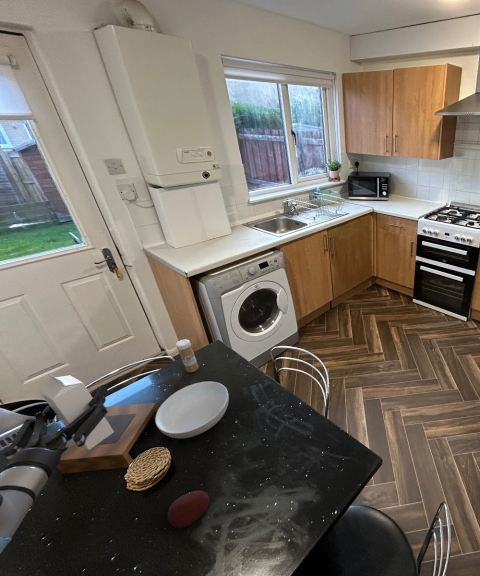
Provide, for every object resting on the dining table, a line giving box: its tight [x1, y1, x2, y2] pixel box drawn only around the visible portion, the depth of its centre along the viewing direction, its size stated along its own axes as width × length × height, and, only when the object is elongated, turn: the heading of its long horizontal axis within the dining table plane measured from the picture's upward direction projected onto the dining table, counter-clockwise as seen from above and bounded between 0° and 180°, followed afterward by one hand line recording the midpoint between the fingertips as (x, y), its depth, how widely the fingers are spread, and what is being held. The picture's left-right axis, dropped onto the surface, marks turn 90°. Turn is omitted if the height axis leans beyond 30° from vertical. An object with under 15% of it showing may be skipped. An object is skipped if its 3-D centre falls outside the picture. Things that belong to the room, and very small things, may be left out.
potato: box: [167, 490, 211, 529], centre depth 78 cm, size 8×9×6 cm
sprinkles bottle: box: [175, 338, 199, 373], centre depth 121 cm, size 5×5×14 cm
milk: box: [39, 373, 114, 450], centre depth 79 cm, size 6×6×22 cm
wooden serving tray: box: [56, 402, 160, 475], centre depth 95 cm, size 18×18×6 cm
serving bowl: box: [154, 381, 230, 439], centre depth 102 cm, size 21×21×7 cm
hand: (84, 392), depth 82 cm, fingers closed on milk, 8 cm apart
